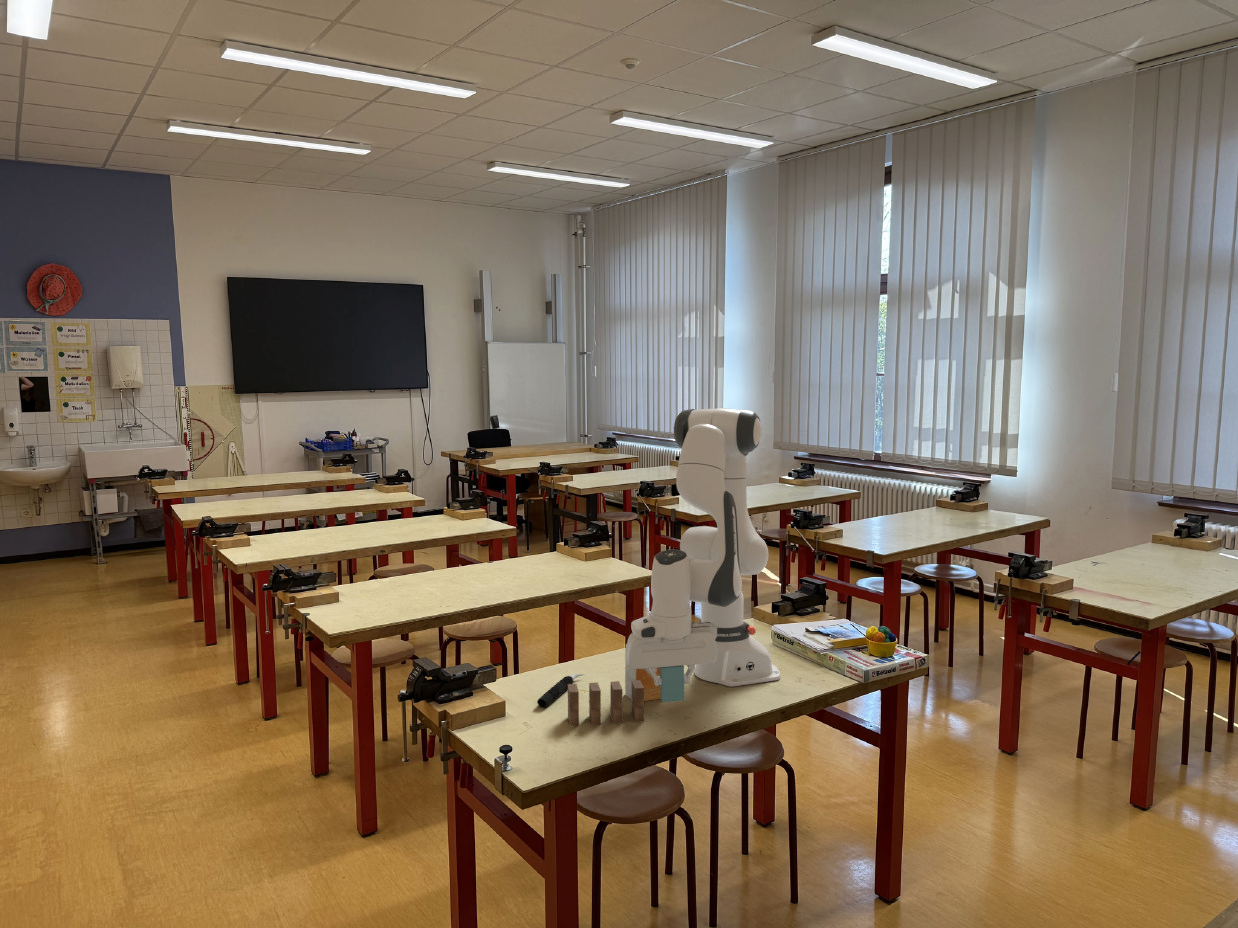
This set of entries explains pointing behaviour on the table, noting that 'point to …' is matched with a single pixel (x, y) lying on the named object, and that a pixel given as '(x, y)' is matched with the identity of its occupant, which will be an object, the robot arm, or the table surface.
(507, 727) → the table surface
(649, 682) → the small box
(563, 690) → the utility knife
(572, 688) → the domino
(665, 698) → the domino
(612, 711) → the domino
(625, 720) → the table surface
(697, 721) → the table surface
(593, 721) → the domino
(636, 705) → the domino
